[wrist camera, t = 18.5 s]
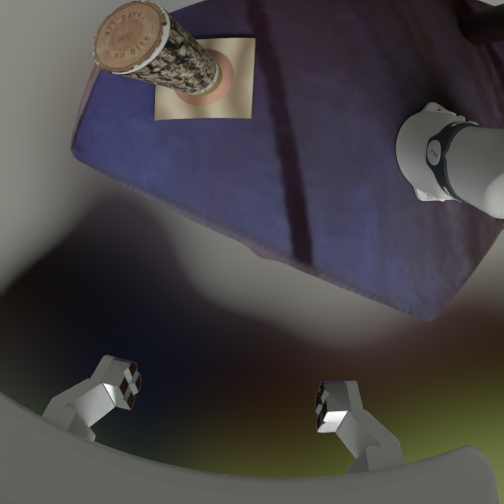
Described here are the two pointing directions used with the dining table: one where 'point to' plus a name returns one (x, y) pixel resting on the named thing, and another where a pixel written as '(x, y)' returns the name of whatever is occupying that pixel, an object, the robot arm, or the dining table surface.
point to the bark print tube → (154, 50)
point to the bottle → (484, 26)
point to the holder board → (226, 95)
